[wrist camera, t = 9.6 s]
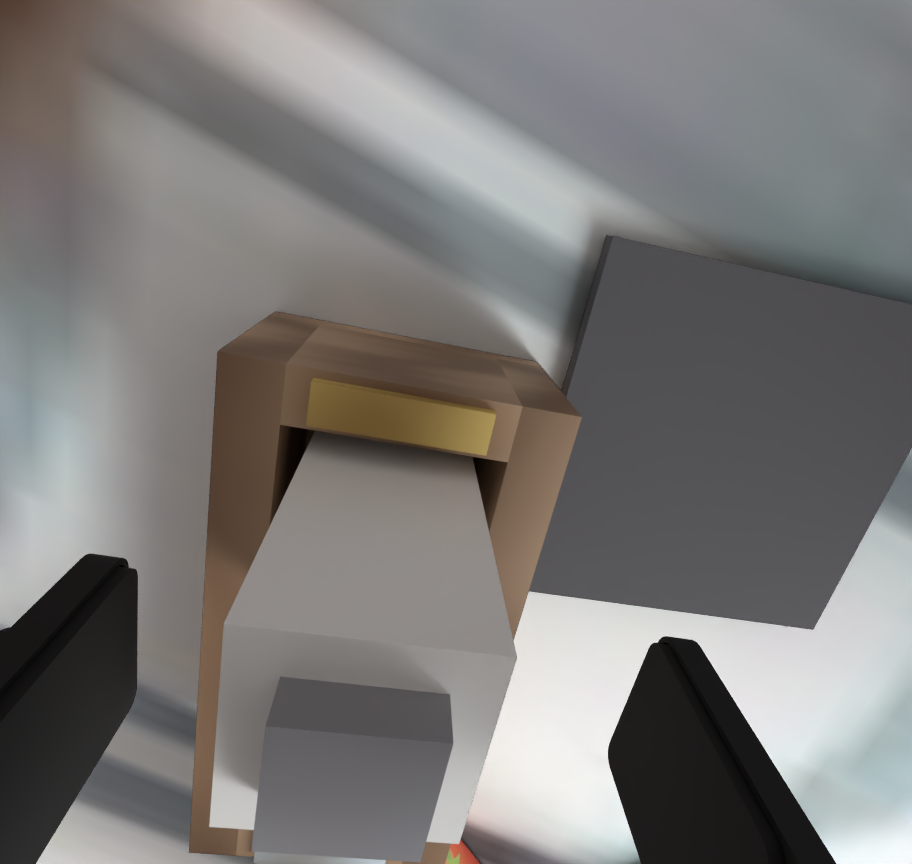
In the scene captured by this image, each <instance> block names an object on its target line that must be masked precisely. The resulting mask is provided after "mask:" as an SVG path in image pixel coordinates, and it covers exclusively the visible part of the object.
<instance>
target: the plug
mask: <svg viewBox="0 0 912 864" xmlns="http://www.w3.org/2000/svg"><path fill="white" fill-rule="evenodd" d="M516 659H517V655H516V651H515V646H514V642H513V637H512V633H511V628H510V624H509V619H508V615H507V610H506V606H505V601H504V597H503V592H502V588H501V583H500V579H499V574H498V570H497V565H496V561H495V556H494V552H493V547H492V543H491V538H490V534H489V529H488V525H487V520H486V516H485V511H484V507H483V503H482V498H481V494H480V489H479V485H478V480H477V476H476V471H475V467H474V462H473V458H472V456H466V455H460V454H454V453H448V452H442V451H436V450H430V449H424V448H418V447H412V446H405V445H399V444H393V443H387V442H381V441H375V440H369V439H363V438H357V437H351V436H345V435H339V434H333V433H327V432H321V431H315V432H314V434H313V436H312V438H311V440H310V442H309V444H308V446H307V449H306V451H305V453H304V455H303V457H302V459H301V461H300V463H299V466H298V468H297V470H296V472H295V474H294V476H293V478H292V480H291V482H290V485H289V487H288V489H287V491H286V493H285V495H284V497H283V499H282V501H281V504H280V506H279V508H278V510H277V512H276V514H275V516H274V518H273V520H272V523H271V525H270V527H269V529H268V531H267V533H266V535H265V537H264V540H263V542H262V544H261V546H260V548H259V550H258V552H257V554H256V556H255V559H254V561H253V563H252V565H251V567H250V569H249V571H248V573H247V575H246V578H245V580H244V582H243V584H242V586H241V588H240V590H239V592H238V595H237V597H236V599H235V601H234V603H233V605H232V607H231V609H230V611H229V614H228V616H227V618H226V620H225V622H224V627H223V641H222V655H221V669H220V684H219V698H218V712H217V726H216V740H215V754H214V768H213V782H212V796H211V810H210V824H209V827H218V828H232V829H247V830H254V832H253V841H252V850H251V852H266V853H281V854H297V855H313V856H328V857H344V858H360V859H375V860H391V861H407V862H421V858H422V855H423V851H424V848H425V844H426V842H435V843H450V844H459V843H460V839H461V836H462V833H463V830H464V827H465V823H466V820H467V817H468V814H469V810H470V807H471V804H472V801H473V798H474V794H475V791H476V788H477V785H478V781H479V778H480V775H481V772H482V769H483V765H484V762H485V759H486V756H487V753H488V749H489V746H490V743H491V740H492V736H493V733H494V730H495V727H496V724H497V720H498V717H499V714H500V711H501V707H502V704H503V701H504V698H505V695H506V691H507V688H508V685H509V682H510V679H511V675H512V672H513V669H514V666H515V662H516Z"/></svg>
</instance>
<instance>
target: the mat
mask: <svg viewBox="0 0 912 864" xmlns="http://www.w3.org/2000/svg"><path fill="white" fill-rule="evenodd" d="M562 393H563V394H564V395H565V397H566V398H567V399H568V400H569V402H570V403H571V404H572V405H573V407H574V408H575V409H576V410H577V412H578V413H579V414H580V415H581V417H582V419H581V422H580V425H579V428H578V432H577V435H576V438H575V441H574V445H573V448H572V451H571V454H570V458H569V461H568V464H567V468H566V471H565V474H564V477H563V481H562V484H561V487H560V490H559V494H558V497H557V500H556V503H555V507H554V510H553V513H552V516H551V520H550V523H549V526H548V530H547V533H546V536H545V539H544V543H543V546H542V549H541V552H540V556H539V559H538V562H537V565H536V569H535V572H534V575H533V578H532V582H531V585H530V588H529V591H531V592H538V593H546V594H553V595H561V596H568V597H575V598H583V599H590V600H598V601H605V602H612V603H620V604H627V605H635V606H642V607H649V608H657V609H664V610H672V611H679V612H687V613H694V614H701V615H709V616H716V617H724V618H731V619H738V620H746V621H753V622H761V623H768V624H776V625H783V626H790V627H798V628H805V629H814V627H815V625H816V623H817V622H818V620H819V618H820V616H821V614H822V612H823V610H824V609H825V607H826V605H827V603H828V601H829V599H830V598H831V596H832V594H833V592H834V590H835V588H836V586H837V585H838V583H839V581H840V579H841V577H842V575H843V574H844V572H845V570H846V568H847V566H848V564H849V562H850V561H851V559H852V557H853V555H854V553H855V551H856V550H857V548H858V546H859V544H860V542H861V540H862V538H863V537H864V535H865V533H866V531H867V529H868V527H869V526H870V524H871V522H872V520H873V518H874V516H875V514H876V513H877V511H878V509H879V507H880V505H881V503H882V502H883V500H884V498H885V496H886V494H887V492H888V490H889V489H890V487H891V485H892V483H893V481H894V479H895V477H896V476H897V474H898V472H899V470H900V468H901V466H902V465H903V463H904V461H905V459H906V457H907V455H908V453H909V452H910V450H911V448H912V304H908V303H904V302H899V301H895V300H891V299H886V298H882V297H877V296H873V295H869V294H864V293H860V292H856V291H851V290H847V289H842V288H838V287H834V286H829V285H825V284H821V283H816V282H812V281H807V280H803V279H799V278H794V277H790V276H786V275H781V274H777V273H772V272H768V271H764V270H759V269H755V268H751V267H746V266H742V265H737V264H733V263H729V262H724V261H720V260H716V259H711V258H707V257H702V256H698V255H694V254H689V253H685V252H681V251H676V250H672V249H667V248H663V247H659V246H654V245H650V244H646V243H641V242H637V241H632V240H628V239H624V238H619V237H615V236H608V235H607V236H606V239H605V242H604V246H603V249H602V253H601V256H600V260H599V263H598V267H597V270H596V274H595V277H594V281H593V284H592V288H591V291H590V295H589V298H588V302H587V305H586V309H585V312H584V315H583V319H582V322H581V326H580V329H579V333H578V336H577V340H576V343H575V347H574V350H573V354H572V357H571V361H570V364H569V368H568V371H567V375H566V378H565V381H564V385H563V388H562Z"/></svg>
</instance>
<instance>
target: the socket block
mask: <svg viewBox="0 0 912 864" xmlns="http://www.w3.org/2000/svg"><path fill="white" fill-rule="evenodd" d="M581 419H582V417H581V415H580V414H579V413H578V412H577V410H576V409H575V408H574V407H573V405H572V404H571V403H570V402H569V400H568V399H567V398H566V397H565V395H564V394H563V393H562V392H561V390H560V389H559V388H558V387H557V385H556V384H555V383H554V382H553V380H552V379H551V378H550V377H549V375H548V374H547V373H546V372H545V370H544V369H543V368H542V367H541V365H540V364H539V363H538V362H535V361H529V360H524V359H519V358H514V357H509V356H504V355H498V354H493V353H488V352H483V351H478V350H472V349H467V348H462V347H457V346H452V345H446V344H441V343H436V342H431V341H426V340H420V339H415V338H410V337H405V336H400V335H394V334H389V333H384V332H379V331H374V330H369V329H363V328H358V327H353V326H348V325H343V324H337V323H332V322H327V321H322V320H317V319H311V318H306V317H301V316H296V315H291V314H285V313H280V312H274V313H272V314H271V315H269V316H268V317H266V318H265V319H264V320H262V321H261V322H259V323H258V324H256V325H255V326H253V327H252V328H251V329H249V330H248V331H246V332H245V333H243V334H242V335H240V336H239V337H238V338H236V339H235V340H233V341H232V342H230V343H229V344H227V345H226V346H225V347H223V348H222V349H220V350H219V351H218V353H217V371H216V388H215V406H214V423H213V441H212V459H211V476H210V494H209V511H208V529H207V547H206V564H205V582H204V599H203V617H202V634H201V652H200V670H199V687H198V705H197V722H196V740H195V758H194V775H193V793H192V810H191V828H190V845H189V853H202V854H218V855H233V856H249V857H254V863H258V864H445V862H446V859H447V856H448V853H449V849H450V846H451V844H450V843H435V842H426V844H425V848H424V851H423V855H422V858H421V862H407V861H391V860H375V859H360V858H344V857H328V856H313V855H297V854H281V853H266V852H251V850H252V841H253V832H254V830H247V829H232V828H218V827H209V824H210V810H211V796H212V782H213V768H214V754H215V740H216V726H217V712H218V698H219V684H220V669H221V655H222V641H223V627H224V622H225V620H226V618H227V616H228V614H229V611H230V609H231V607H232V605H233V603H234V601H235V599H236V597H237V595H238V592H239V590H240V588H241V586H242V584H243V582H244V580H245V578H246V575H247V573H248V571H249V569H250V567H251V565H252V563H253V561H254V559H255V556H256V554H257V552H258V550H259V548H260V546H261V544H262V542H263V540H264V537H265V535H266V533H267V531H268V529H269V527H270V525H271V523H272V520H273V518H274V516H275V514H276V512H277V510H278V508H279V506H280V504H281V501H282V499H283V497H284V495H285V493H286V491H287V489H288V487H289V485H290V482H291V480H292V478H293V476H294V474H295V472H296V470H297V468H298V466H299V463H300V461H301V459H302V457H303V455H304V453H305V451H306V449H307V446H308V444H309V442H310V440H311V438H312V436H313V434H314V432H315V431H321V432H327V433H333V434H339V435H345V436H351V437H357V438H363V439H369V440H375V441H381V442H387V443H393V444H399V445H405V446H412V447H418V448H424V449H430V450H436V451H442V452H448V453H454V454H460V455H466V456H472V458H473V462H474V467H475V471H476V476H477V480H478V485H479V489H480V494H481V498H482V503H483V507H484V511H485V516H486V520H487V525H488V529H489V534H490V538H491V543H492V547H493V552H494V556H495V561H496V565H497V570H498V574H499V579H500V583H501V588H502V592H503V597H504V601H505V606H506V610H507V615H508V619H509V624H510V628H511V633H512V637H513V640H514V637H515V634H516V631H517V627H518V624H519V621H520V618H521V614H522V611H523V608H524V605H525V601H526V598H527V595H528V592H529V588H530V585H531V582H532V578H533V575H534V572H535V569H536V565H537V562H538V559H539V556H540V552H541V549H542V546H543V543H544V539H545V536H546V533H547V530H548V526H549V523H550V520H551V516H552V513H553V510H554V507H555V503H556V500H557V497H558V494H559V490H560V487H561V484H562V481H563V477H564V474H565V471H566V468H567V464H568V461H569V458H570V454H571V451H572V448H573V445H574V441H575V438H576V435H577V432H578V428H579V425H580V422H581Z"/></svg>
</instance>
